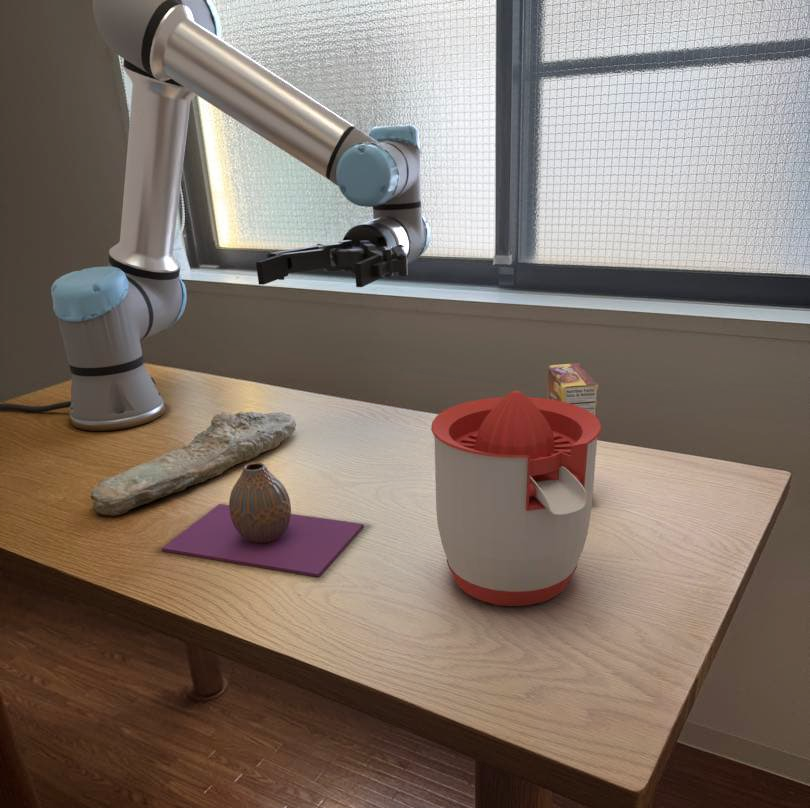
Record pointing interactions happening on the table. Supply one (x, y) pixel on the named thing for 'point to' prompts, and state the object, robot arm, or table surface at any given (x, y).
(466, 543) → the citrus juicer
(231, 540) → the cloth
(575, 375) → the candy box
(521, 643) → the table surface
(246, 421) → the long grey stone
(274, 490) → the vase
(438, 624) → the table surface
